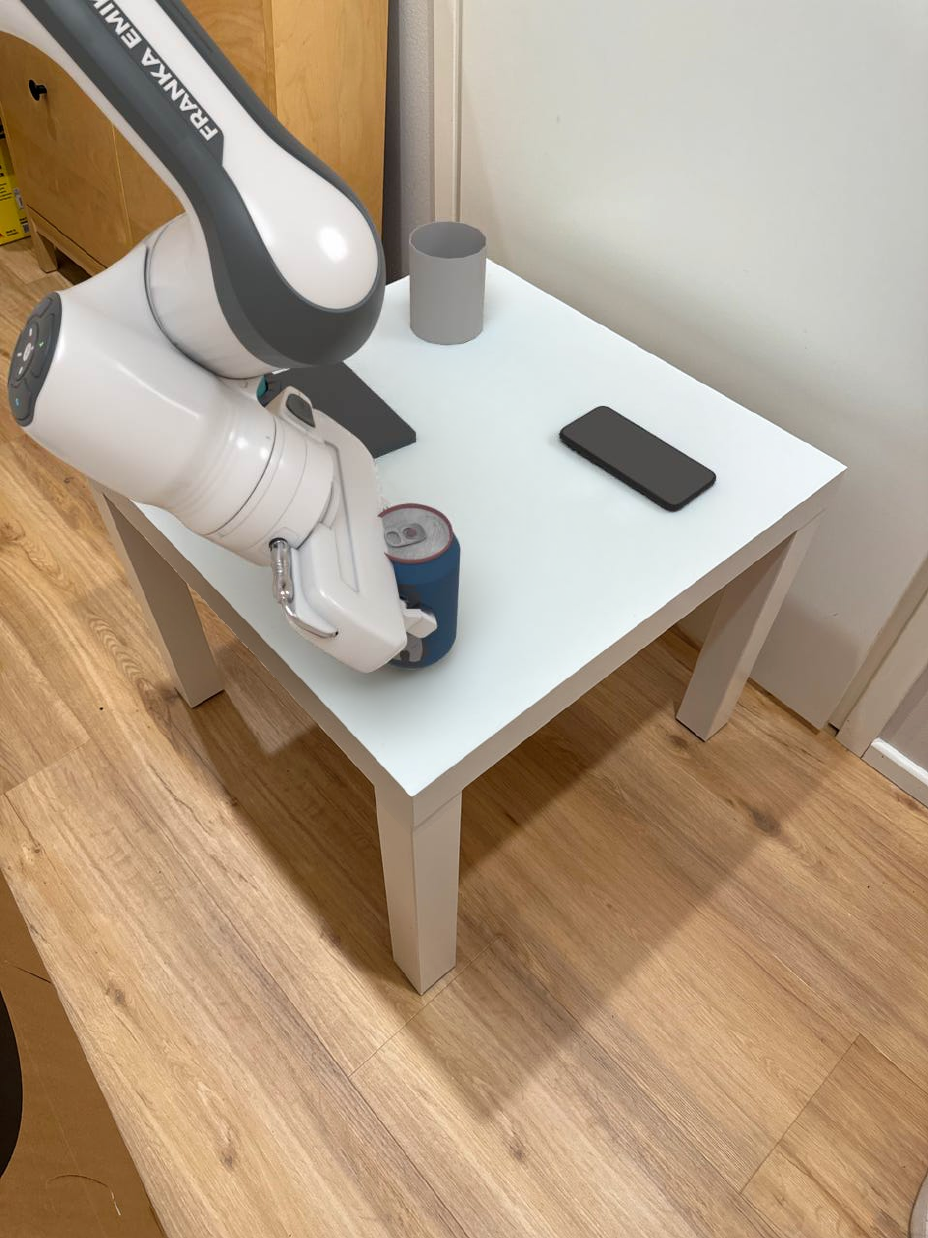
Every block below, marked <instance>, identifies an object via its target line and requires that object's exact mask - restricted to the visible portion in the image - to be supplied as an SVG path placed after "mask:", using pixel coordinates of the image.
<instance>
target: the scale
mask: <svg viewBox="0 0 928 1238" xmlns="http://www.w3.org/2000/svg"><path fill="white" fill-rule="evenodd" d="M264 380H265V386H266V391H265V393H264V394H263V395H262V396H260V397H257V399H258V401H259V403H260V404H261V405H262V406H263V407H264V408H265V407H266V406H267V405H268V404H269V403H270V402H271V401H272V400H273V399H274V398H275V397H276V396H277V395H278V394H280V393H281V392H282V391H283V390H284V389H285V388H287V387H288V386H291V387H294V388H295V389H297V390H299V391H300V392H301V393H303V394H304V395H305V396H306V397H308V398H309V400H310V401H311V404H312V408H313V409H317V410H319V411H321V412H323V413H324V414H326V415H327V416H329V417H330V418H331V419H333V420H334V421H336V422H337V423H338V424H340V425H341V426H342V427H344V428H345V429H346V430H348V431H349V432H350V433H351V434H353V435H354V436H355V437H356V438H358V439H359V440H360V441H361V442H362V443H363V444H364V446H365V447H366V448H367V450H368V451H369V452H370V454H371V455H372V457H373V460H374V459H376V458H380V457H382V456H384V455H387V454H389V453H391V452H394V451H396V450H399V449H401V448H404V447H406V446H409V445H412V444H414V443H416V442H417V432H416V430H415V429H414V428H413V427H411V426H410V424H408V423H407V422H406V421H405V420H404V419H403V418H402V417H401V415H399V414H398V413H397V412H396V411H395V410H394V409H393V408H392V407H391V406H390V405H389V404H388V403H387V402H386V401H385V400H383V399H382V398H381V396H380V395H379V394H378V393H376V392H375V391H374V390H373V389H372V388H371V387H370V386H369V385H368V384H367V383H366V382H365V381H364V380H363V379H362V378H361V377H360V376H358V375H357V373H356V372H355V371H354V370H353V369H351V368H350V367H349V366H348V364H346V363H345V362H344V361H341V362H339V363H336V364H332V365H326V366H316V367H305V368H294V369H284V370H283V371H282V370H281V371H280V372H277V373H274V372H271V373H267V374H264Z"/></svg>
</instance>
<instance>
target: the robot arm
mask: <svg viewBox="0 0 928 1238" xmlns="http://www.w3.org/2000/svg"><path fill="white" fill-rule="evenodd" d="M0 32H2V33H6V34H10V35H12V36H14V37H17V38H18V39H21V40H23V41H25V42H27V43H28V44H30V45H32V46H34V47H35V48H37V49H38V50H39V51H41V52H42V53H44V54H45V55H46V56H48V57H49V58H50V59H51V60H53V61H54V62H55V63H56V64H57V65H58V66H60V67H61V68H62V69H63V70H64V71H65V72H66V73H67V74H68V76H70V77H71V78H72V79H73V81H74V82H75V83H76V84H77V85H78V86H79V88H80V89H81V90H82V91H83V92H84V93H85V94H86V95H87V97H88V98H89V99H90V100H91V101H92V102H93V104H95V106H96V107H97V108H98V110H100V111H101V112H102V114H103V115H104V116H105V117H106V118H107V119H108V120H109V122H111V124H112V125H113V126H114V127H115V128H116V129H117V131H118V132H119V133H120V134H121V135H122V136H123V137H124V138H125V140H126V142H128V143H129V144H130V145H131V147H132V148H133V149H134V150H135V151H136V152H137V153H138V154H139V156H140V157H141V158H142V159H143V161H145V163H146V164H148V166H149V167H150V168H151V169H152V171H154V173H155V174H156V175H157V176H158V177H159V178H160V179H161V181H162V182H163V183H164V184H165V185H166V186H167V187H168V189H169V190H170V191H171V192H172V193H173V194H174V196H175V197H176V199H178V201H179V202H180V204H181V205H182V207H183V209H184V211H185V212H183V213H181V214H179V215H177V216H175V217H173V218H172V219H170V220H168V221H167V222H165V223H164V224H162V225H161V226H159V227H157V228H156V229H155V230H153V231H151V232H149V233H148V234H147V235H146V236H145V237H144V238H143V239H141V240H140V241H139V242H138V243H137V244H136V245H135V246H134V247H133V248H132V249H131V250H130V251H129V252H128V253H126V254H125V256H123V257H122V258H121V259H119V260H118V261H116V262H115V263H113V264H112V265H111V266H109V267H107V268H106V269H104V270H102V271H100V272H99V273H96V274H95V275H93V276H91V277H90V278H88V279H86V280H84V281H82V282H80V283H77V284H75V285H73V286H71V287H68V288H66V289H62V290H54V291H51V292H49V293H47V294H46V295H45V296H43V298H42V299H41V300H40V301H39V302H37V304H36V305H35V306H34V308H33V309H31V312H30V314H29V315H28V317H27V319H26V322H25V324H24V326H23V329H22V330H21V331H20V333H19V335H18V338H17V340H16V343H15V345H14V348H13V351H12V355H11V359H10V364H9V369H8V375H7V387H6V388H7V393H8V404H9V407H10V412H11V414H12V416H13V418H14V420H15V422H16V423H17V424H18V426H19V427H20V428H21V429H22V430H23V432H24V433H26V434H27V435H28V436H29V437H30V438H31V439H32V440H33V441H34V442H36V443H37V444H38V445H39V446H41V447H42V448H44V449H45V450H46V451H48V452H49V453H50V454H52V455H53V456H55V458H57V459H59V460H60V461H62V462H64V463H65V464H67V465H68V466H70V467H71V468H73V469H75V470H77V471H78V472H80V473H82V474H83V475H85V476H87V477H88V478H90V479H92V480H93V481H95V482H96V483H99V484H101V486H104V487H106V488H107V489H109V490H112V491H114V492H115V493H117V494H118V495H120V496H122V497H124V498H126V499H129V500H130V501H132V502H134V503H139V504H142V505H148V506H153V507H155V508H159V509H162V510H163V511H166V512H168V513H169V514H171V515H172V516H174V517H175V518H176V519H177V520H178V521H179V522H180V523H181V524H182V525H183V526H184V527H185V528H186V529H187V530H189V531H190V532H192V533H193V534H196V535H198V536H200V537H201V538H203V539H205V540H208V541H209V542H211V543H213V544H215V545H217V546H219V547H220V548H223V549H225V550H227V551H228V552H230V553H232V554H234V555H236V556H237V557H240V558H242V559H244V560H246V561H247V562H249V563H251V564H253V565H255V566H258V567H270V566H271V569H272V573H273V582H272V590H273V591H272V593H273V596H274V597H273V598H274V599H275V602H277V603H278V604H281V606H282V609H283V613H284V616H285V619H286V620H287V622H288V623H289V626H291V627H292V629H293V630H294V631H295V633H297V634H298V635H299V636H301V637H302V638H303V639H304V640H306V641H307V642H308V643H310V644H312V645H313V646H315V647H316V648H317V649H319V650H321V651H322V652H323V653H325V654H327V655H328V656H330V657H332V658H334V659H335V660H337V661H339V662H341V663H342V664H344V665H345V666H348V667H350V668H351V669H354V670H355V671H357V672H360V673H363V674H366V673H367V674H368V673H371V672H374V671H376V670H377V669H380V668H381V667H382V666H384V665H386V664H388V661H390V660H391V659H392V658H393V657H394V656H396V655H397V654H398V653H399V652H400V651H402V650H403V649H404V648H405V646H406V644H407V635H406V632H408V633H410V634H412V635H414V636H416V637H418V638H424V637H426V636H428V635H429V634H430V633H432V632H433V631H434V630H436V628H437V623H436V620H435V615H434V611H433V609H432V608H430V607H429V608H428V607H427V606H426V605H425V604H423V603H421V602H418V603H416V604H415V605H414V606H412V608H411V609H406V604H405V602H404V601H402V600H401V599H400V598H399V593H398V588H397V582H396V577H395V572H394V567H393V564H392V562H391V561H390V559H389V558H388V557H387V556H386V555H385V553H386V554H388V544H387V542H386V540H385V537H384V534H385V530H384V528H383V523H382V518H381V517H378V515H379V514H380V513H381V512H383V511H384V510H386V509H388V508H390V507H393V506H392V505H391V504H390V502H389V501H388V500H387V499H386V498H385V497H383V496H382V495H381V494H380V488H379V482H378V476H377V472H376V467H375V460H374V459H373V457H372V455H371V454H370V452H369V451H368V450H367V448H366V447H365V446H364V444H363V443H362V442H361V441H360V440H359V439H358V438H356V437H355V436H354V435H353V434H351V433H350V432H349V431H348V430H346V429H345V428H344V427H342V426H341V425H340V424H338V423H337V422H336V421H334V420H333V419H331V418H330V417H329V416H327V415H326V414H324V413H323V412H321V411H319V410H317V409H313V408H312V404H311V401H310V400H309V398H308V397H306V396H305V395H304V394H303V393H301V392H300V391H299V390H297V389H295V388H294V387H291V386H288V387H287V388H285V389H284V390H283V391H282V392H281V393H280V394H278V395H277V396H276V397H275V398H274V399H273V400H272V401H271V402H270V403H269V404H268V405H267V406H266V407H265V408H264V407H263V406H262V405H261V404H260V403H259V401H258V399H257V393H256V392H257V388H258V386H259V383H260V381H261V379H262V377H263V374H267V373H271V372H272V373H274V372H278V371H282V370H288V369H294V368H305V367H316V366H326V365H332V364H336V363H339V362H341V361H343V362H344V361H346V360H347V359H349V358H351V357H352V356H353V355H355V354H356V353H357V352H359V351H360V350H361V349H362V348H363V346H364V345H365V344H366V343H367V342H368V340H369V339H370V338H371V335H372V334H373V332H374V330H375V328H376V327H377V324H378V321H379V319H380V316H381V313H382V309H383V304H384V300H385V299H384V298H385V294H386V293H385V292H386V284H387V283H386V282H387V281H386V280H387V272H386V271H387V269H386V268H387V267H386V258H385V253H384V247H383V243H382V239H381V236H380V233H379V230H378V228H377V225H376V223H375V221H374V219H373V217H372V214H371V213H370V211H369V210H368V207H367V206H366V205H365V203H364V202H363V201H362V199H361V198H360V196H359V195H358V194H357V193H356V192H355V191H354V189H353V188H352V187H351V186H350V185H349V184H348V183H347V182H346V180H345V179H343V178H342V177H341V176H340V175H339V174H338V173H337V172H336V171H335V170H334V169H333V168H332V167H330V165H328V164H327V163H325V162H324V160H322V159H321V158H320V157H319V156H317V155H316V154H315V153H313V152H312V151H311V150H310V149H309V148H307V146H306V145H304V144H303V143H302V142H301V141H299V139H297V137H295V136H294V135H293V134H292V133H291V131H289V130H288V128H286V127H285V125H284V124H282V122H280V120H279V119H278V118H277V116H275V115H274V113H273V112H272V111H271V110H270V109H269V107H267V105H266V104H265V103H264V102H263V100H262V99H261V98H260V97H259V95H258V94H257V93H256V92H255V90H254V89H253V88H252V87H251V85H250V84H249V83H248V82H247V81H246V79H245V78H244V76H243V75H242V74H241V72H239V70H238V69H237V68H236V67H235V65H234V64H233V63H232V62H231V60H230V59H229V58H228V56H226V54H225V53H224V52H223V50H222V49H221V48H220V47H219V45H218V44H217V43H216V42H215V41H214V39H213V37H212V36H211V35H210V34H209V33H208V32H207V31H206V29H205V27H203V26H202V24H201V23H200V22H199V20H197V18H196V17H195V15H194V14H193V13H192V12H191V11H190V9H189V8H188V6H186V4H185V3H184V2H183V1H182V0H0ZM384 552H385V553H384Z"/></svg>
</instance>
